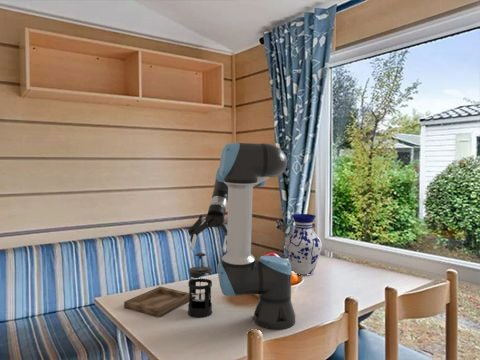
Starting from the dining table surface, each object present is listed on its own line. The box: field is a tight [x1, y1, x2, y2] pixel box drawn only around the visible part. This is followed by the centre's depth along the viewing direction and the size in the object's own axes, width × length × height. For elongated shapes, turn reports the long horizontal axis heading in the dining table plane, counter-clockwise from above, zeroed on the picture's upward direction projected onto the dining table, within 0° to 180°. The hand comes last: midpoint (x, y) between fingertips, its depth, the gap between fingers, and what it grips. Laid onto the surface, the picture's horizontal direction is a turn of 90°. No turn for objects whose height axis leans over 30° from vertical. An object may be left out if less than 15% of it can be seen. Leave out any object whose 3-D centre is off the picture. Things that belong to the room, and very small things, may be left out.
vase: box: [284, 213, 323, 276], centre depth 201 cm, size 19×19×30 cm
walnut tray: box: [123, 286, 189, 318], centre depth 158 cm, size 18×21×2 cm
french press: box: [187, 252, 213, 319], centre depth 148 cm, size 12×9×23 cm
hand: (207, 250), depth 159 cm, fingers open, 13 cm apart
